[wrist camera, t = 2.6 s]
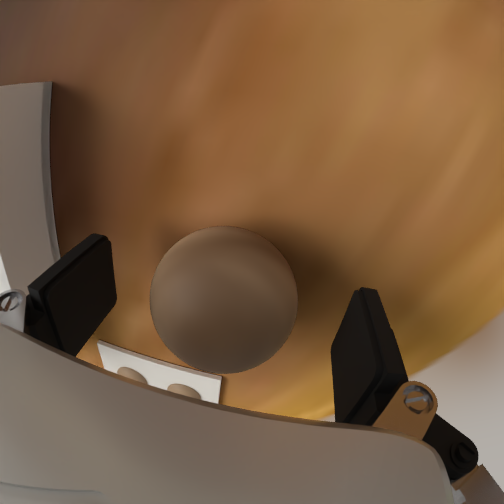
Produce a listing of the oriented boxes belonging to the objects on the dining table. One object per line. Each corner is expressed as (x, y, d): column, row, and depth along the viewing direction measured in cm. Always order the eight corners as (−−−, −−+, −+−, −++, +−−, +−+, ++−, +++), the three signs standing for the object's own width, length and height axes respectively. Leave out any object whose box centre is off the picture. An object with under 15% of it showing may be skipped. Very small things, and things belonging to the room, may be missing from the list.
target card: (221, 376, 16) (220, 381, 15) (216, 417, 18) (215, 421, 18) (99, 339, 16) (96, 343, 16) (112, 385, 18) (110, 389, 18)
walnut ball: (311, 219, 11) (319, 299, 6) (284, 321, 13) (275, 414, 9) (182, 195, 11) (114, 256, 7) (178, 298, 14) (134, 379, 9)
